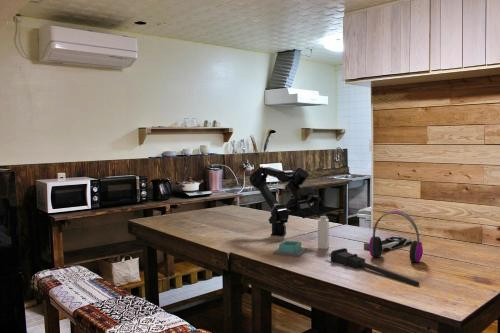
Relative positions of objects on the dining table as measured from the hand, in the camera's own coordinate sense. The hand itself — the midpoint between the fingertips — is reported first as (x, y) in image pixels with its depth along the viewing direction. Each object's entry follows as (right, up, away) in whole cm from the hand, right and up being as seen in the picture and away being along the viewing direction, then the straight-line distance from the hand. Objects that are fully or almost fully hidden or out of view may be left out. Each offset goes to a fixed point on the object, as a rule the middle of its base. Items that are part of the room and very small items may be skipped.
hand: (311, 216), depth 200 cm
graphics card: (+35, -14, -5) cm, 38 cm away
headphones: (+31, -15, -25) cm, 42 cm away
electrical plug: (+16, -16, -39) cm, 45 cm away
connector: (+4, -14, -5) cm, 15 cm away
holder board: (-11, -14, -11) cm, 21 cm away
